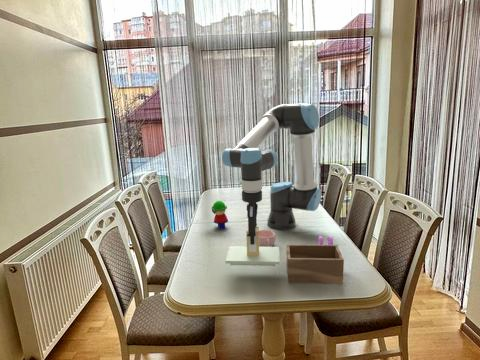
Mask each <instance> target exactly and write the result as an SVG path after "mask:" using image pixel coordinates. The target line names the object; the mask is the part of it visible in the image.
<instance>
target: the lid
mask: <svg viewBox="0 0 480 360" xmlns="http://www.w3.org/2000/svg"><path fill="white" fill-rule="evenodd" d="M255 231H256V252H249V236H247V234H248V226H247V227H246V235H245V236H246V246H244V245H241V246H240V245H236V246H234V245H229V247H228V251H227V254H226V258H225V264H230V266H253V267H255V266H256V267H257V266H258V267H259V266H260V267H261V266H262V267H263V266H265V267H267V266H268V267H276V265H280V247H279V246H271V247H259V231H260V228H259V226H256V227H255Z"/></svg>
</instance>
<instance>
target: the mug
mask: <svg viewBox="0 0 480 360" xmlns="http://www.w3.org/2000/svg"><path fill="white" fill-rule="evenodd" d="M276 239H277V237H276V233H275V232H274V230H273V231H272V230H271V229H270V230H269V229H259V247H274V244H275V243H276Z"/></svg>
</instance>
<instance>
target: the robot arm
mask: <svg viewBox="0 0 480 360" xmlns="http://www.w3.org/2000/svg"><path fill="white" fill-rule="evenodd" d="M319 122H320V115H319V111H318V108H317V107H316V106H315V105H314V104H313V103H305V102H304V103H301V102H300V103H299V102H298V103H282V104H279V105H276V106H274V107H272V108H271V109H269V110H268V111H266V112H265V113H264V114H263V115H262V116H261V117H260V120H259V122H258V123H257V124H256V125H255V126H254V127H253V128H252V129H251V130H250V131H249V132H248V133H247V134H246V136H244V137H243V138H242V139H241V140H240V141H239V142H238V144H236V146H235V147H233V148H232V147H230V148H225V149H224V150H223V152H222V155H221V160H222V163H223V165H224V166H225V167H230V168H240V172H241V177H240V178H241V180H240V181H239V184H241V190H242V191H241V200H242V202H244V203H247V204H246V211H247V216H246V217H247V224H248V225H247V227H248V234H247V236H249V252H256V231H255V227H258V223H257V222H258V221H257V220H258V219H257V217H258V216H257V215H258V207H259V206H258V204H257V203H259V202H262V200H263V191H262V189H263V178H262V175H263V173H262V172H263V171H266V170H270V169H272V168H273V167H275V166H276V165H277V163H278V160H279V158H278V154H277V153H276V152H275V150H273V149H271V148H268V149H266V148H265V149H260V147H261V145H262V144H263V143H264V142H265V141H266V140H267V139H268V138H269V136H270V135H272V133H275V132H277V131H278V130H282V129H287V130H288V129H289V134H290V136H292V137H293V149H294V150H293V151H294V152H293V153H294V164H295V167H294V168H295V180H296V182H294V184H293V182H291V181H280V182H277V183H273V184H272V185H270V192H269V195H270V197H269V198H270V200H269V201H270V212H269V215H268V218H267V226H268V227H269V228H271V229H273V230H274V229H275V230H290V229H293V228H295V226H296V223H297V222H296V218H295V214H294V212H293V209H295V210H302V211H307V212H308V211H309V212H314V211H317V209H318V208H319V206H320V204H321V199H322V189H320V188H318V185H317V182H315V181H314V177H315V176H314V160H313V159H314V157H313V156H314V155H313V137H312V136H313V135H314V133H316V130H317V129H318V127H319V125H320V124H319ZM247 236H246V237H247Z"/></svg>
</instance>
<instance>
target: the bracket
mask: <svg viewBox="0 0 480 360" xmlns="http://www.w3.org/2000/svg"><path fill="white" fill-rule="evenodd" d="M317 241H318V242H317V243H318V244H317V245H324V238H323V236H321V235H319V236H318V239H317ZM333 241H334V239H333V236H331V235H328V236H327V245H334V242H333Z"/></svg>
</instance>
